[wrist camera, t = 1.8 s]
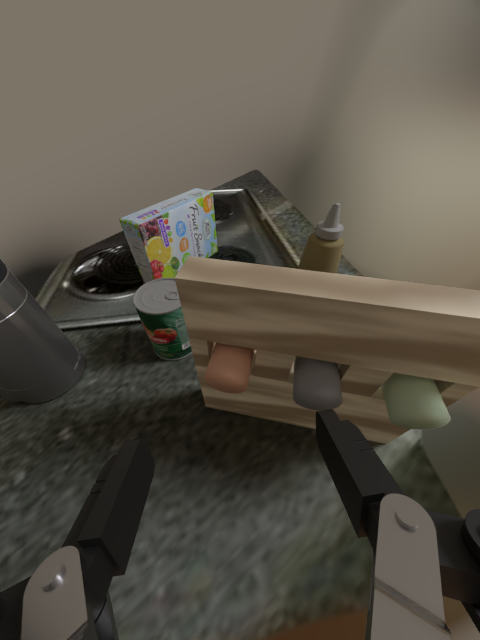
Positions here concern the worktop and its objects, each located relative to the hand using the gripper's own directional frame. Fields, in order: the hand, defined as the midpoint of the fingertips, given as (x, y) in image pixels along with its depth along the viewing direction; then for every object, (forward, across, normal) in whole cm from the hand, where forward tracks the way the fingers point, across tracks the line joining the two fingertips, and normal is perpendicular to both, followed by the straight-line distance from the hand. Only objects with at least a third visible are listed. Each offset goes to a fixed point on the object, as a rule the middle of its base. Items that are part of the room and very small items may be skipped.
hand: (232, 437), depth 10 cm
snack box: (+50, +10, -2) cm, 51 cm away
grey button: (+10, -7, +6) cm, 14 cm away
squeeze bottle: (+41, -18, +6) cm, 45 cm away
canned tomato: (+28, +10, +8) cm, 31 cm away
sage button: (+8, -15, +8) cm, 19 cm away
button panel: (+19, -8, +14) cm, 25 cm away
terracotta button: (+12, 0, +5) cm, 12 cm away
